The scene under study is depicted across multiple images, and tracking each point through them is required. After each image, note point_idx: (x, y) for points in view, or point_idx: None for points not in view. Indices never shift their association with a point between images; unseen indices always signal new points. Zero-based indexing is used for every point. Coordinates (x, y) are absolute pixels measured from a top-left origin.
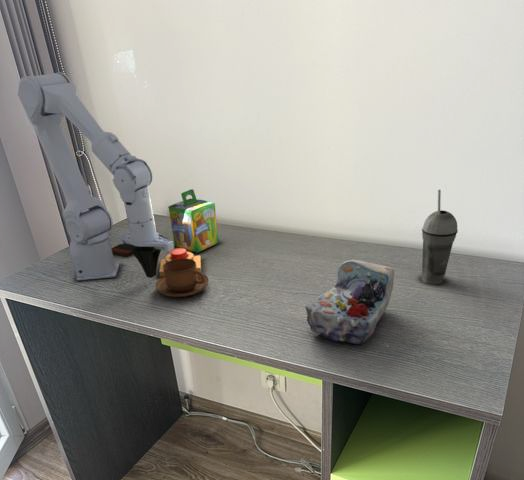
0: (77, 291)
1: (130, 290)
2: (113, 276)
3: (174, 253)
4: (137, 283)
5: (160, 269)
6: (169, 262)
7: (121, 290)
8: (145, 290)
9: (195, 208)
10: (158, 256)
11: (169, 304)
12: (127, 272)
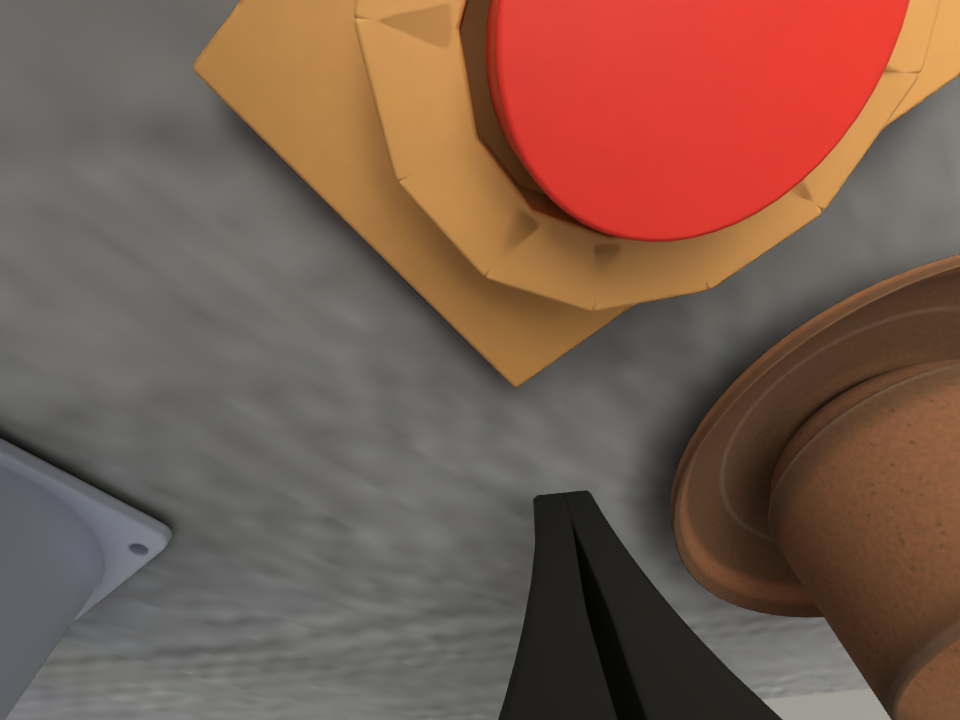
0: (201, 686)
1: (472, 577)
2: (167, 543)
3: (673, 199)
4: (426, 508)
5: (489, 349)
6: (922, 643)
7: (417, 597)
8: None
9: None
10: (728, 676)
11: None
12: (143, 428)
